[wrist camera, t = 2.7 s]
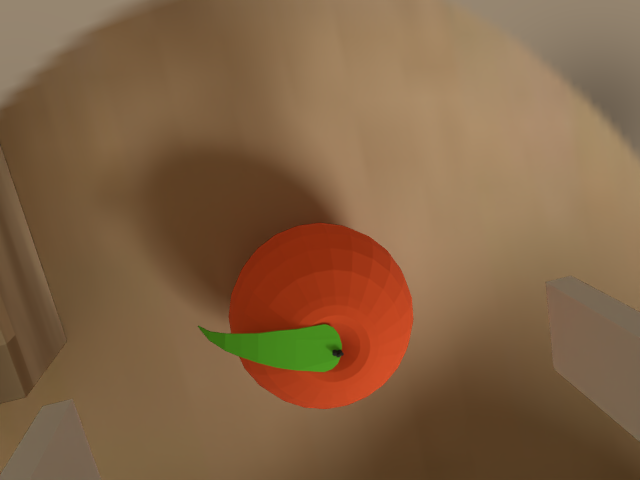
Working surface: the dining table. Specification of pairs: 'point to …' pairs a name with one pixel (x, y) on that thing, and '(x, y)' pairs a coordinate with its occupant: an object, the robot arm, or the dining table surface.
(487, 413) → the dining table surface
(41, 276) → the tray
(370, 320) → the clementine
